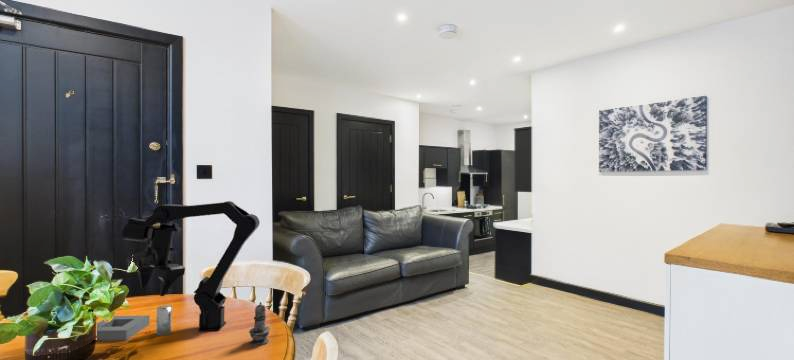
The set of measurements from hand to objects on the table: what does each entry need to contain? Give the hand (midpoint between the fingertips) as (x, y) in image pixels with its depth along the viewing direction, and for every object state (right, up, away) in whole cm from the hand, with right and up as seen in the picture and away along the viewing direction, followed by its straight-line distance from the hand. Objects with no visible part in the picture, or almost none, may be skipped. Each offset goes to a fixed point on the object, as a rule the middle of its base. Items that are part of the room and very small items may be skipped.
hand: (152, 292), depth 116 cm
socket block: (-9, -12, -3) cm, 15 cm away
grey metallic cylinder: (+5, -12, -2) cm, 13 cm away
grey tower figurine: (+37, -13, -7) cm, 39 cm away
